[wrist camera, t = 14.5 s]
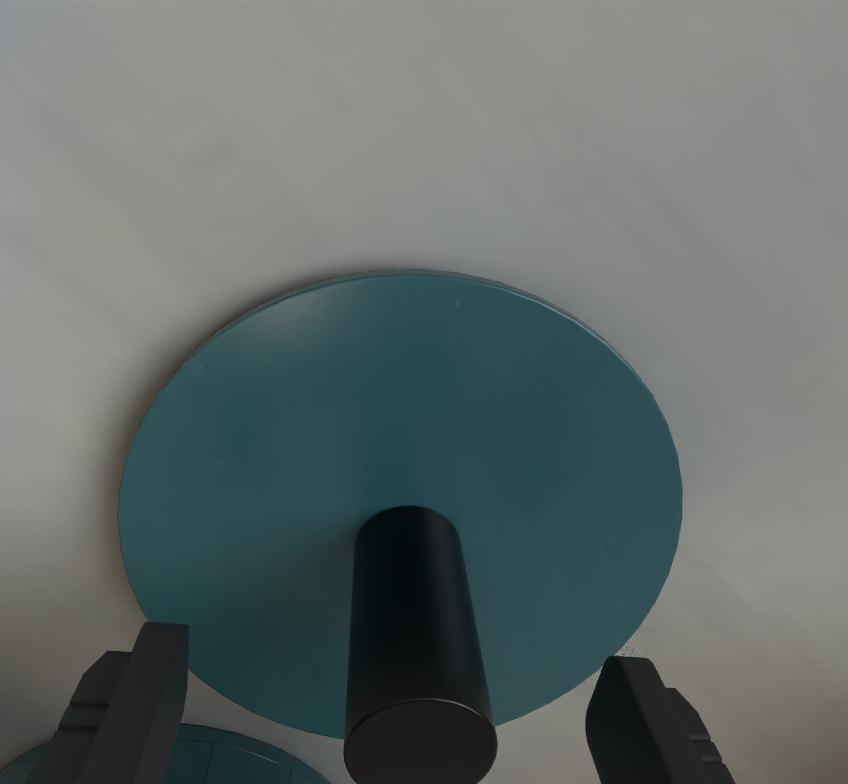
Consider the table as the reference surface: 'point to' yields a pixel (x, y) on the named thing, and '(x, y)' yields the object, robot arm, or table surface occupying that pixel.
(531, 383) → the lid
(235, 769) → the pot
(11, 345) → the table surface
